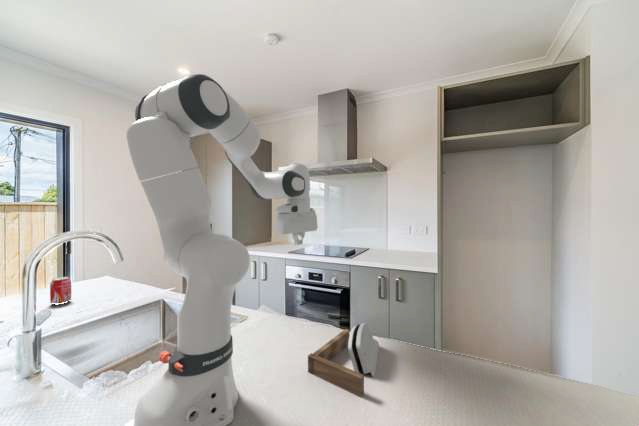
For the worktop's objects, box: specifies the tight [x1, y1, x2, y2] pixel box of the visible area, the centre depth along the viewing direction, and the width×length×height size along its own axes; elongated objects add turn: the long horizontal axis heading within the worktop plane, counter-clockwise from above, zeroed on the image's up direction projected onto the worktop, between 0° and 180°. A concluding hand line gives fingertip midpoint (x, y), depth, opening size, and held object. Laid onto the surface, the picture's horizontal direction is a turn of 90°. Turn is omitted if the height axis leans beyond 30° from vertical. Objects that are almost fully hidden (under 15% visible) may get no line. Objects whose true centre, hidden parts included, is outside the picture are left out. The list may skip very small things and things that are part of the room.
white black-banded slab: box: [347, 322, 380, 378], centre depth 76 cm, size 17×5×10 cm, turn 162°
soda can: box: [49, 276, 72, 304], centre depth 121 cm, size 7×7×12 cm
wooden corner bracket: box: [307, 328, 365, 398], centre depth 73 cm, size 20×16×4 cm
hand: (298, 244), depth 97 cm, fingers closed
